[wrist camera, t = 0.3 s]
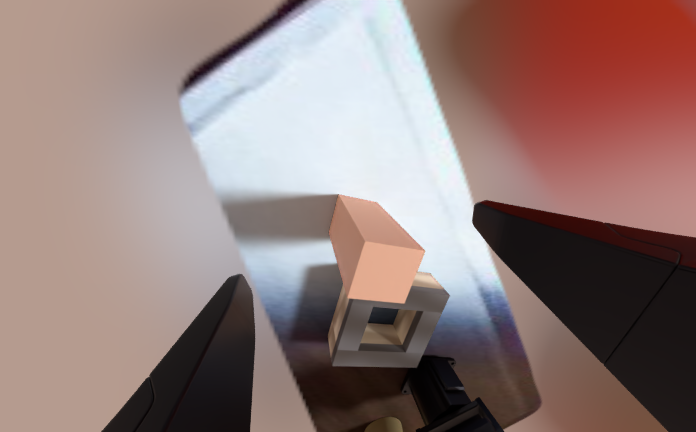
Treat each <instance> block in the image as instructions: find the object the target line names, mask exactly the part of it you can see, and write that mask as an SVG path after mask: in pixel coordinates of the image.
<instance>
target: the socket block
mask: <svg viewBox="0 0 696 432" xmlns="http://www.w3.org/2000/svg"><path fill="white" fill-rule="evenodd" d="M449 296H450V295H449V294H448V293H447V292H446V291H445V289H444V288H443V287H442V286H441V285H440V284H439V283H438V281H437V280H436V279H435V278H434V277H433V276H432V275H431V273H424V272H417V273H416V276H415V278H414V281H413V283H412V286H411V288H410V291H409V293H408V296H407V298H406V301H405V303H404V304H403V303H393V302H382V301H372V300H361V299H351V298H347V295H346V291H345V288H344V284H343V286H342V289H341V293H340V296H339V299H338V303H337V306H336V309H335V313H334V316H333V320H332V323H331V326H330V330H329V333H328V340H329V347H330V354H331V361H332V366H356V367H408V368H417V366H418V364H419V362H420V359H421V357H422V355H423V353H424V351H425V349H426V346H427V344H428V342H429V340H430V338H431V335H432V333H433V331H434V329H435V327H436V325H437V322H438V320H439V318H440V316H441V314H442V312H443V309H444V307H445V305H446V303H447V301H448V299H449ZM373 307H382V308H393V309H399V310H398V313H397V316H396V318H395V321H394V323H393V325H388V324H374V323H368V320H369V318H370V315H371V312H372V309H373Z"/></svg>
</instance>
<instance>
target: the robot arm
mask: <svg viewBox="0 0 696 432" xmlns="http://www.w3.org/2000/svg"><path fill="white" fill-rule="evenodd" d="M472 222H473V225H474V227H475V228H476V229H477V231H478V232H479V233H480V234H481V236H482V237H483V238H484V239H485V241H486V242H487V243H488V244H489V246H490V247H491V248H492V250H493V251H494V252H495V253H496V254H497V255H498V257H499V258H500V259H501V260H502V261H503V262H504V263H505V264H506V265H507V266H508V267H509V268H510V269H511V270H512V271H513V272H514V273H515V274H516V275H517V276H518V277H519V278H520V279H521V280H522V281H523V282H524V283H525V284H526V286H528V288H529V289H530V290H531V291H532V292H533V293H534V294H535V295H536V296H537V297H538V298H539V299H540V300H541V301H542V302H543V303H544V304H545V305H546V306H547V307H548V308H549V309H550V310H551V311H552V312H553V313H554V314H555V315H556V316H557V317H558V318H559V319H560V320H561V321H562V323H563V324H564V325H565V326H567V328H568V329H569V330H570V331H571V332H572V333H573V334H574V335H575V336H576V337H577V338H578V339H579V340H580V341H581V342H582V343H583V344H584V345H585V346H586V347H587V348H588V349H589V350H590V351H591V352H592V353H593V354H594V355H595V356H596V357H597V359H598V360H599V361H600V362H601V363H603V364H604V366H605V367H606V368H607V369H608V370H609V371H610V372H611V373H612V374H613V375H614V376H615V377H616V378H617V379H618V380H619V381H620V382H621V383H622V385H623V386H624V387H625V388H627V390H628V391H629V392H630V393H631V394H632V395H633V396H634V397H635V398H636V399H637V400H638V401H639V402H640V403H641V404H642V405H643V406H644V407H645V408H646V409H647V410H648V411H649V412H650V413H651V414H652V415H653V416H654V417H655V418H656V419H657V421H659V422H660V423H661V425H662V426H663V427H664V428H665V429H666V430H667V431H668V432H696V238H695V237H689V236H682V235H675V234H668V233H662V232H656V231H650V230H643V229H638V228H632V227H627V226H621V225H616V224H610V223H603V222H599V221H594V220H589V219H584V218H578V217H573V216H568V215H562V214H557V213H552V212H546V211H541V210H536V209H531V208H525V207H520V206H514V205H509V204H504V203H499V202H493V201H488V200H484V201H481V202H477V203H476V204H475V205H474V211H473V219H472ZM254 353H255V323H254V307H253V294H252V290H251V288H250V286H249V285H248V283H247V281H246V279H245V277H244V276H243V275H242V274H237V275H234V276H231V277H229V278H228V279H227V280H226V281H225V283H224V284H223V285H222V286H221V287H220V289H219V290H218V291H217V292H216V294H215V295H214V296H213V297H212V298H211V300H210V301H209V302H208V303H207V305H206V306H205V307H204V308H203V310H202V311H201V312H200V313H199V315H198V316H197V317H196V318H195V319H194V321H193V322H192V323H191V324H190V326H189V327H188V328H187V329H186V330H185V332H184V333H183V334H182V335H181V337H180V338H179V339H178V340H177V342H176V343H175V344H174V345H173V346H172V348H171V349H170V350H169V351H168V353H167V354H166V355H165V356H164V357H163V359H162V360H161V361H160V363H159V364H158V365H157V366H156V367H155V369H154V370H153V371H152V372H151V374H150V375H149V376H150V377H148V378H146V379H145V381H144V382H143V383H142V384H141V386H140V387H139V388H138V390H137V391H136V392H135V393H134V394H133V395H132V397H131V398H130V399H129V400H128V401H127V403H126V404H125V405H124V406H123V407H122V409H121V410H120V411H119V412H118V413H117V414H116V416H115V417H114V418H113V419H112V420H111V421H110V422H109V424H108V425H107V426H106V427H105V428H104V429H103V430H102V431H101V432H250V422H251V405H252V387H253V370H254ZM455 364H456V361H455V360H454V359H453V358H424V357H421V359H420V362H419V364H418V366H417V368H410V370H409V372H408V374H407V376H406V379H405V381H404V383H403V385H402V387H401V392H402V394H412V395H413V398H414V400H415V402H416V405H417V407H418V410H419V412H420V414H421V417H422V419H423V421H424V424H425V426H424V427H423V428H421V429H420V428H419V429H417V430H416V432H504V431H503V429H502V428H501V426H500V425H499V424H498V422H497V421H496V420H495V418H494V417H493V415H492V414H491V413H490V411H489V410H488V409H487V407H486V406H485V404H484V403H483V402H482V400H481V399H480V398H479V397H478V398H476V399H475V401H473V402H471V400H470V399H469V397H468V396H467V394H466V392H465V391H464V390H465V388H464V386H463V384H462V383H461V381H460V380H459V378H458V376H457V375H456V373H455V372H454V370H453V368H454V366H455Z"/></svg>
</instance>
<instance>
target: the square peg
mask: <svg viewBox="0 0 696 432" xmlns="http://www.w3.org/2000/svg"><path fill="white" fill-rule="evenodd" d="M329 235H330V239H331V242H332V246H333V249H334V253H335V256H336V260H337V263H338V267H339V270H340V274H341V277H342V281H343V284H344V288H345V291H346V295H347V298H351V299H361V300H372V301H382V302H393V303H403V304H404V303H405V301H406V298H407V296H408V293H409V291H410V288H411V286H412V283H413V281H414V278H415V276H416V273H417V271H418V268H419V266H420V263H421V261H422V258H423V256H424V253H425V250H424V249H423V248H422V247H421V246H420V245H419V244H418V243H417V242H416V241H415V240H414V239H413V238H412V237H411V236H410V235H409V234H408V233H407V232H406V231H405V230H404V229H403V228H402V227H401V226H400V225H399V224H398V223H397V222H396V221H395V220H394V219H393V218H392V217H391V216H390V215H389V214H388V213H387V212H386V211H385V210H384V209H383V208H382V207H381V206H380V205H379V204H378V203H377V202H372V201H368V200H363V199H358V198H353V197H349V196H344V195H339V194H338V198H337V202H336V206H335V210H334V214H333V218H332V222H331V225H330V229H329Z"/></svg>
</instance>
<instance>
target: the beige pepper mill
mask: <svg viewBox="0 0 696 432" xmlns="http://www.w3.org/2000/svg"><path fill="white" fill-rule="evenodd" d="M364 432H403V430H402V426H401V422H400V421H399V420H398V419H397V418H394V417H384V418H380V419H378V420H376V421H374V422H372V423H371V424H370V425H368V426H367V428H366V429H365V431H364Z"/></svg>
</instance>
